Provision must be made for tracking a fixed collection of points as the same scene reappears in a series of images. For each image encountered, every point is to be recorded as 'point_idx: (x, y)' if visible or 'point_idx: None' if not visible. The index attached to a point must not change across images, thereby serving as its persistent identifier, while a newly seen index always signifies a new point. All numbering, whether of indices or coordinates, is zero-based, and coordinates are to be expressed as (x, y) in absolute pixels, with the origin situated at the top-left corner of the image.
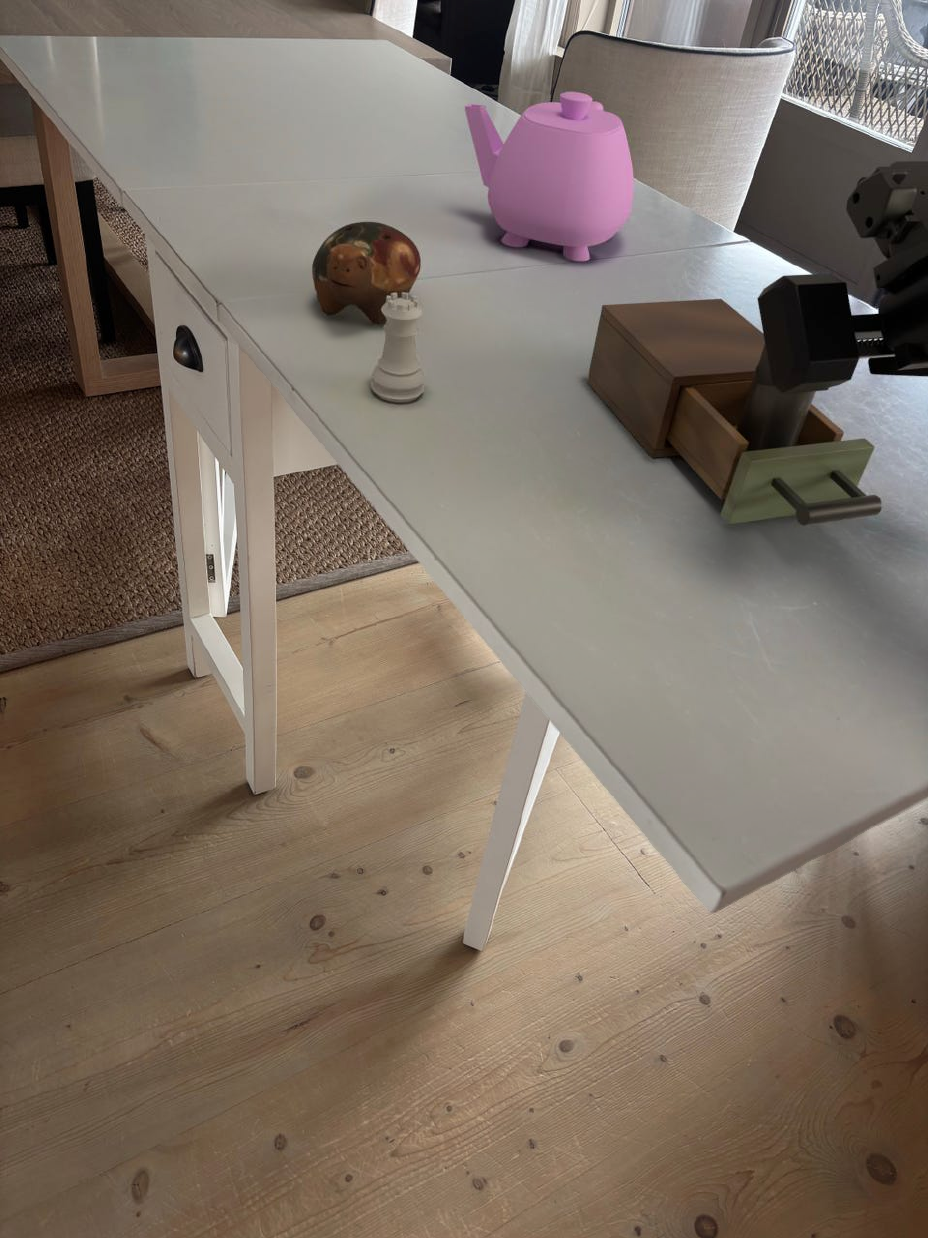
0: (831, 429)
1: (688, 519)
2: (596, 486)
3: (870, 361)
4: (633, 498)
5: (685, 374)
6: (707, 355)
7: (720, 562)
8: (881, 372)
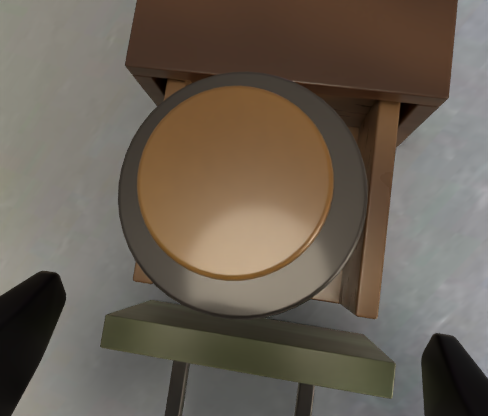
0: (357, 299)
1: (127, 271)
2: (57, 162)
3: (434, 345)
4: (87, 203)
5: (152, 63)
6: (254, 5)
7: (104, 369)
8: (425, 405)
